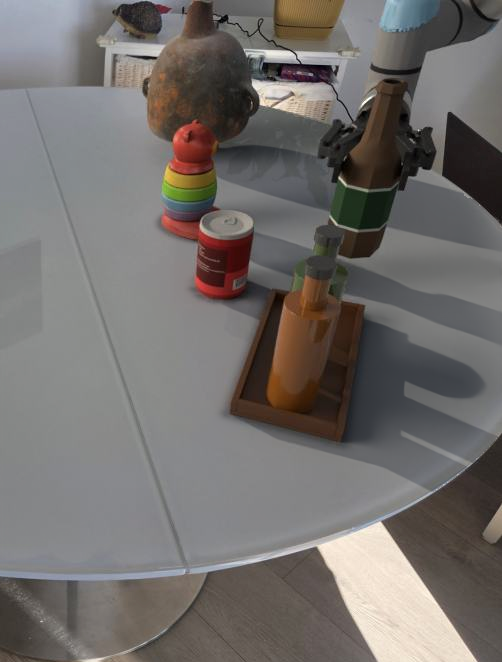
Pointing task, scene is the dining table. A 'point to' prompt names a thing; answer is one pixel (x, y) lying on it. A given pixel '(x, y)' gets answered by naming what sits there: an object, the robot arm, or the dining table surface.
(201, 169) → the stacking bear
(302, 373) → the amber bottle
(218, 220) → the canned food
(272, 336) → the tray
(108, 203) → the dining table surface
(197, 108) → the jug
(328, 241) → the green bottle
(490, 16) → the robot arm
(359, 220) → the beer bottle
